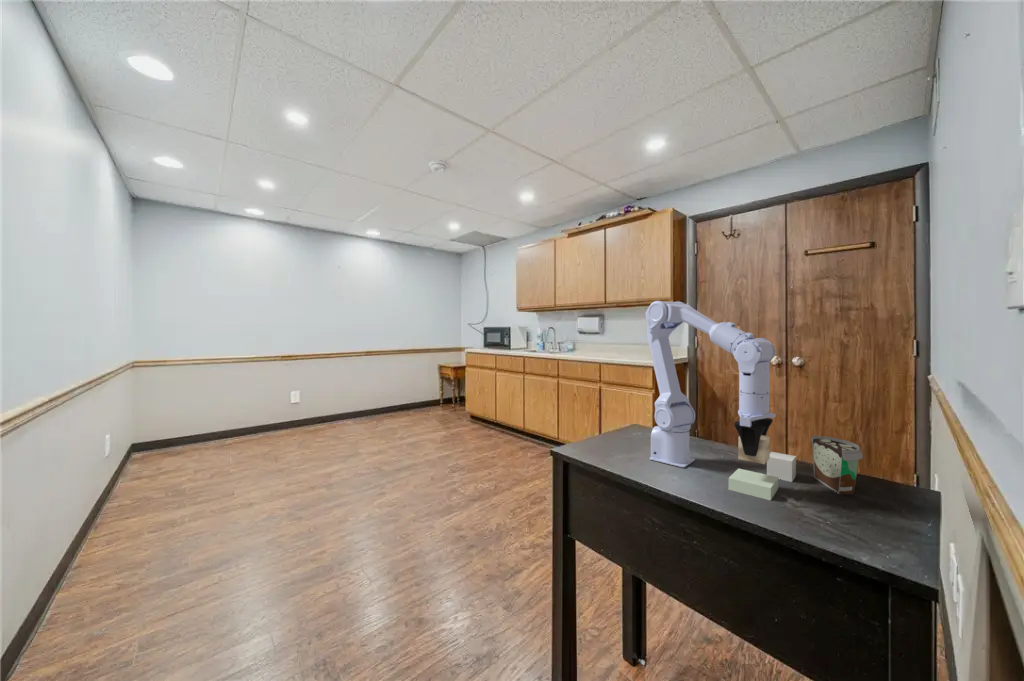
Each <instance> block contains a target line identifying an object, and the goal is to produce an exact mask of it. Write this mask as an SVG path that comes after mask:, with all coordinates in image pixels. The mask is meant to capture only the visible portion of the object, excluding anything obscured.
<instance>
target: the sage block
mask: <svg viewBox="0 0 1024 681" xmlns="http://www.w3.org/2000/svg"><path fill="white" fill-rule="evenodd" d="M778 489H779V479H778V477H775V476H770V475H767V473H766V474H764V473H761V472H756V471H752V470H748V469H742V468H737V469H736V470H735V471H734V472H733V473H732V474H731V475H730V476H729V477H728V490H729V491H733V492H736V493H740V494H744V495H748V496H753V497H756V498H760V499H765V500H767V501H771V500H772V499H773V498H774V496H775V495H776V493H777V491H778Z"/></svg>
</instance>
